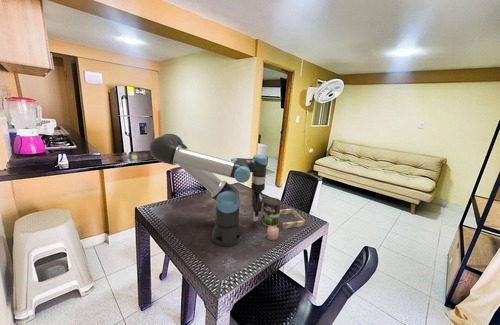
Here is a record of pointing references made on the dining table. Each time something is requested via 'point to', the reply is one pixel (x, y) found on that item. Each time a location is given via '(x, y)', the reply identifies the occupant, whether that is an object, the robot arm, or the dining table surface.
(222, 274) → the dining table surface
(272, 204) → the coffee can
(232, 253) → the dining table surface
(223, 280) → the dining table surface
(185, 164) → the robot arm
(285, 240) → the dining table surface
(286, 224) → the corral
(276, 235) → the tan rounded block
